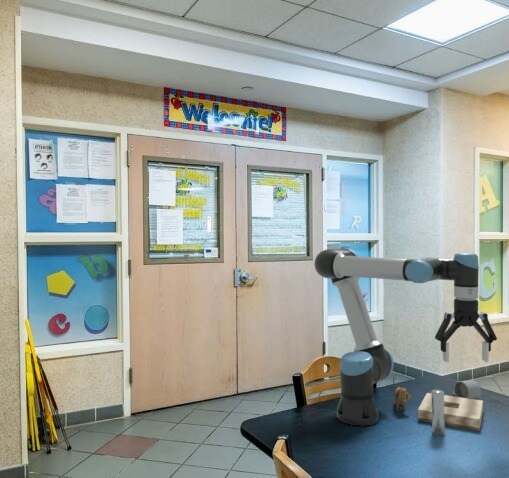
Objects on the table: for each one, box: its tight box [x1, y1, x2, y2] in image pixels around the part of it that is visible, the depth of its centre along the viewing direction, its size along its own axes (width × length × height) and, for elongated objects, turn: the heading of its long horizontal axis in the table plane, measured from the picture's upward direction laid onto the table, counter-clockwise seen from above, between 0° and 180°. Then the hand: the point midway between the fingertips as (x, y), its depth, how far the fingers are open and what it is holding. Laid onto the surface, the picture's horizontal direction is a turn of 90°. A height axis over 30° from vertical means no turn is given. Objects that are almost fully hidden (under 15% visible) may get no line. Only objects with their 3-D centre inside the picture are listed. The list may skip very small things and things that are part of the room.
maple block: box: [417, 392, 484, 432], centre depth 167 cm, size 20×20×4 cm
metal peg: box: [430, 389, 446, 437], centre depth 152 cm, size 4×4×14 cm
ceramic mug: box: [452, 380, 482, 400], centre depth 185 cm, size 11×8×8 cm
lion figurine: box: [393, 386, 412, 412], centre depth 177 cm, size 15×5×9 cm, turn 177°
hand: (465, 361), depth 153 cm, fingers open, 13 cm apart
